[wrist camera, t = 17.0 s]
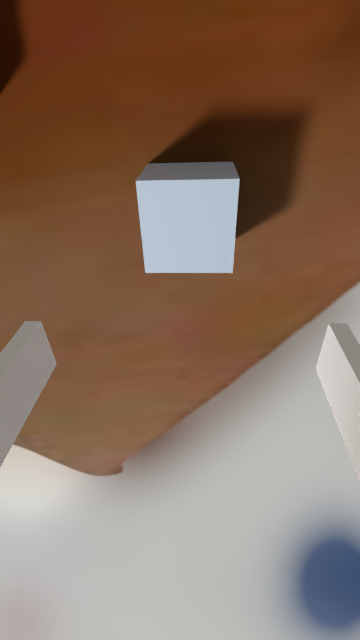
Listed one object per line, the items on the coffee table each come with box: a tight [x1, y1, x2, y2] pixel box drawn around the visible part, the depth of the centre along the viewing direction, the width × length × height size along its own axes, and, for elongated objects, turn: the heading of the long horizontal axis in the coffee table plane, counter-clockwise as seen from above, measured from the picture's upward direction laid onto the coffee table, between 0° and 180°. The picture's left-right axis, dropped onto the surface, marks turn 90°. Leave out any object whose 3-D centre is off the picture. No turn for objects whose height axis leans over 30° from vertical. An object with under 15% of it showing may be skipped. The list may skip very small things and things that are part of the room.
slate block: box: [136, 162, 240, 273], centre depth 30 cm, size 8×8×7 cm
